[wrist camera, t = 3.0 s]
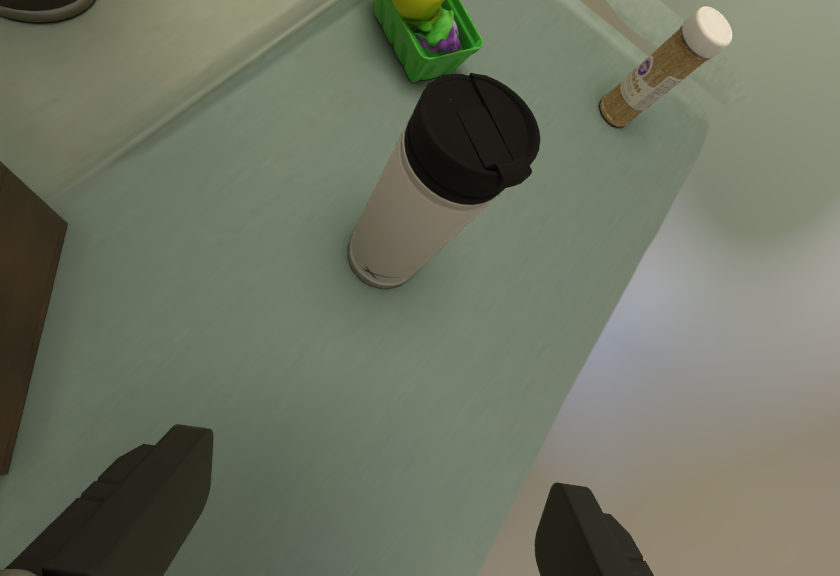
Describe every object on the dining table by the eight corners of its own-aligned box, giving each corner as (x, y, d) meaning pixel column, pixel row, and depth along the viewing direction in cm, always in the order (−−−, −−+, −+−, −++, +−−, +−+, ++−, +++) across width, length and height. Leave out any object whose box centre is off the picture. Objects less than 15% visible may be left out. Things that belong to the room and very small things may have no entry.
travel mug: (364, 302, 36) (463, 194, 18) (336, 232, 37) (402, 61, 19) (427, 280, 39) (570, 165, 20) (400, 215, 39) (512, 48, 21)
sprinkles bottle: (594, 95, 53) (693, 0, 40) (623, 98, 54) (726, 8, 42) (603, 127, 52) (707, 40, 39) (632, 130, 53) (740, 47, 41)
